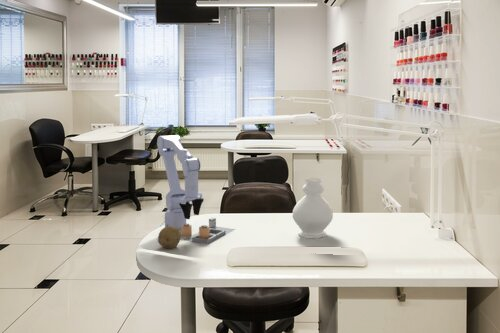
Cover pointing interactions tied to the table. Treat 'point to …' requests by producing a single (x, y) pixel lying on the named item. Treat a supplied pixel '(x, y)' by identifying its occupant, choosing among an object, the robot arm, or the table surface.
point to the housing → (214, 235)
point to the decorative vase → (312, 210)
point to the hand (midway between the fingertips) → (191, 216)
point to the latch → (212, 222)
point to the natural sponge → (169, 237)
